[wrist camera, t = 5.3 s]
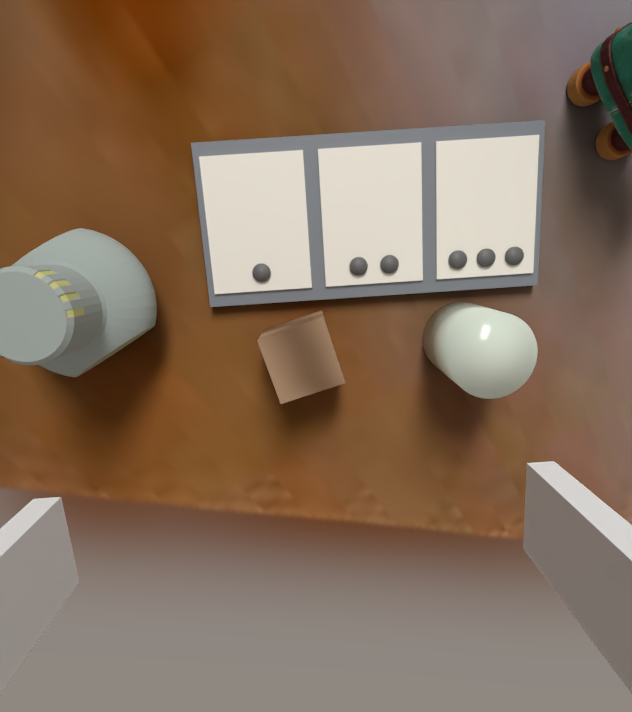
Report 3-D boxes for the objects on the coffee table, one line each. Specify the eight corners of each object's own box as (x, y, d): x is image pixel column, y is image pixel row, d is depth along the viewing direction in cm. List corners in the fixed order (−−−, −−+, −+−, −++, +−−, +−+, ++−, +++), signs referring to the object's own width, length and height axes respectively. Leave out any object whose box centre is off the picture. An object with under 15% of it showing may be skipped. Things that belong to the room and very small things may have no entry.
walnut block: (284, 384, 37) (280, 404, 32) (263, 329, 36) (257, 340, 31) (340, 366, 37) (345, 383, 32) (321, 310, 36) (323, 318, 31)
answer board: (212, 306, 36) (209, 307, 34) (193, 145, 33) (189, 141, 32) (532, 284, 36) (540, 285, 35) (539, 123, 33) (548, 118, 32)
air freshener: (120, 217, 34) (46, 201, 24) (185, 307, 36) (139, 326, 26) (11, 294, 35) (-102, 309, 25) (78, 378, 37) (-4, 422, 27)
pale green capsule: (422, 375, 37) (449, 401, 30) (422, 304, 36) (449, 315, 29) (493, 370, 37) (535, 395, 31) (495, 299, 36) (539, 309, 29)
